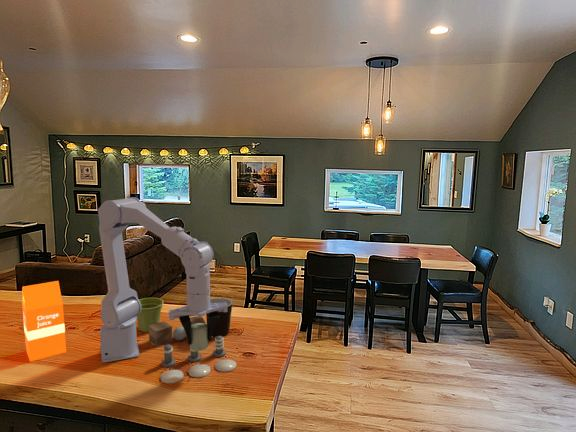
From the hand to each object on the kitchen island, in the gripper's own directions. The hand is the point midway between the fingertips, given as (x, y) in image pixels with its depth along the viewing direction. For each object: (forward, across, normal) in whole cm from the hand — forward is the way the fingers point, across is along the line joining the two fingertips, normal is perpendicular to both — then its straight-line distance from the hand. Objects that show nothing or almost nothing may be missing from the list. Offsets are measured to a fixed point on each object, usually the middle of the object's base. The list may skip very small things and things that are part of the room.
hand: (199, 341), depth 101 cm
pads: (+8, 0, 0) cm, 8 cm away
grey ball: (+8, -2, +20) cm, 22 cm away
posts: (+8, 0, +7) cm, 11 cm away
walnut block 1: (+8, -8, +21) cm, 24 cm away
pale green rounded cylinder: (+2, 0, 0) cm, 2 cm away
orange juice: (+9, -38, +26) cm, 47 cm away
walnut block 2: (+8, +3, +22) cm, 23 cm away
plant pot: (+9, -10, +32) cm, 34 cm away
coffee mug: (+9, +11, +22) cm, 26 cm away
